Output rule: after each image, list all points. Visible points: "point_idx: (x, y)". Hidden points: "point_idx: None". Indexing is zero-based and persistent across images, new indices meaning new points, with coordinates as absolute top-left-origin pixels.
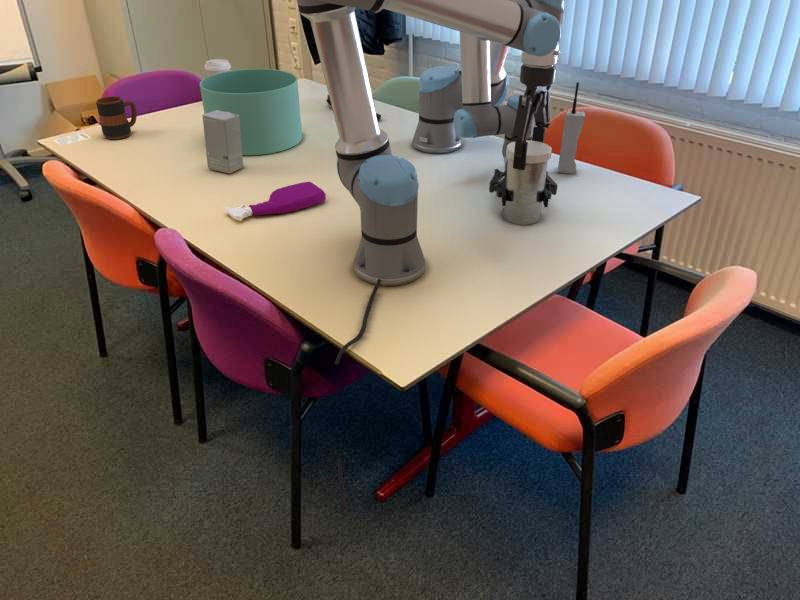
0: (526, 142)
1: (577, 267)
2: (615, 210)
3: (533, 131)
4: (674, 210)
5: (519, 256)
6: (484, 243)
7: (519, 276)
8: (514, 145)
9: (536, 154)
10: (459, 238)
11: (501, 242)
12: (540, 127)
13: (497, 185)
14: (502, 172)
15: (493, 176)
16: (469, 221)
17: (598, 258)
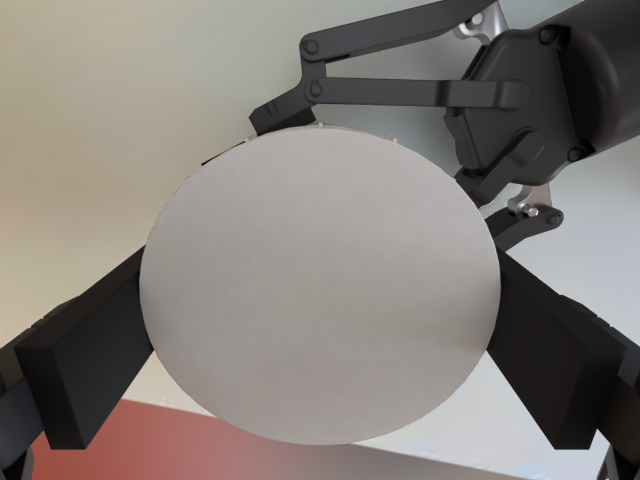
0: (64, 443)
1: (141, 391)
2: (482, 383)
3: (555, 324)
4: (534, 477)
5: (91, 274)
6: (83, 162)
7: (7, 308)
8: (306, 195)
9: (216, 398)
10: (51, 72)
11: (125, 203)
12: (606, 408)
13: (305, 84)
14: (498, 22)
15: (392, 14)
16: (182, 40)
17: (209, 413)
